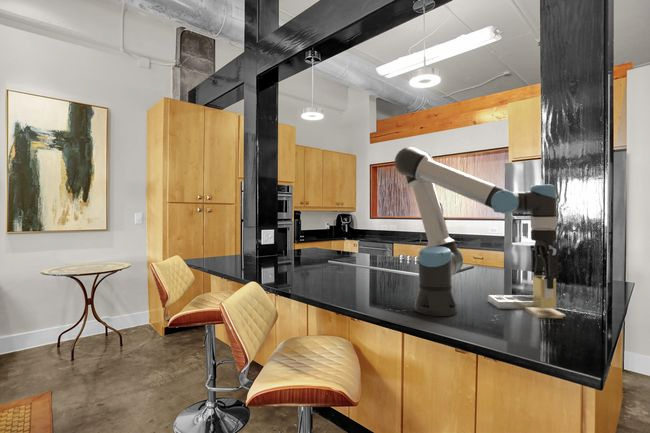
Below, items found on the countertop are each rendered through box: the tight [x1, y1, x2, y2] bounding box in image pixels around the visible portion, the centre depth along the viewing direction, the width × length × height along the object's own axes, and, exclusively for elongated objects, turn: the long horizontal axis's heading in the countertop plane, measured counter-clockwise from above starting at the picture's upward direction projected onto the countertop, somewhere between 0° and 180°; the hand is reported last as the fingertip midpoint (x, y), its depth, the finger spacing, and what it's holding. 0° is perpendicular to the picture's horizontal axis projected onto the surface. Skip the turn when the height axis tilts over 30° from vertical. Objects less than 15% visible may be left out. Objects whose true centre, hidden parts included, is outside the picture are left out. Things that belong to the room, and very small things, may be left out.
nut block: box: [532, 275, 557, 309], centre depth 118 cm, size 5×5×10 cm
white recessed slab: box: [487, 294, 537, 310], centre depth 130 cm, size 18×10×3 cm, turn 84°
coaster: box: [523, 307, 567, 319], centre depth 119 cm, size 9×9×2 cm
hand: (544, 295), depth 118 cm, fingers closed on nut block, 5 cm apart
